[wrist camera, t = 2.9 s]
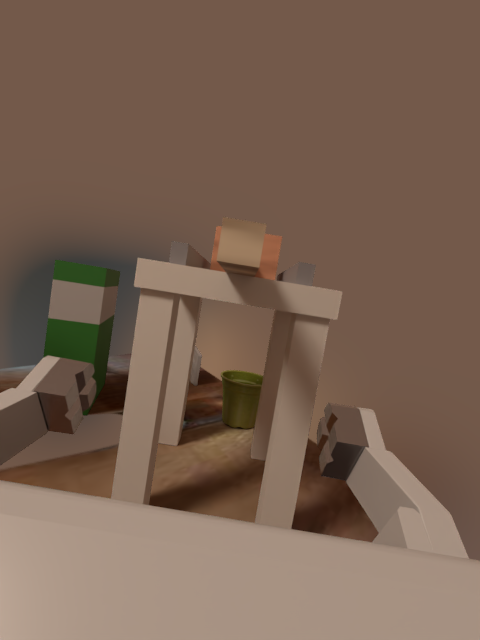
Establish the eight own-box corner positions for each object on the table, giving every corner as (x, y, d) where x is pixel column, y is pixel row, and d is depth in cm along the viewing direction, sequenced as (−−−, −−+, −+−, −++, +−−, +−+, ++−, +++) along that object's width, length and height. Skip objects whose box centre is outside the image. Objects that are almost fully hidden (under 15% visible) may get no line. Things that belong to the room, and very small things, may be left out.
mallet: (306, 275, 20) (324, 169, 19) (169, 252, 20) (185, 146, 19) (269, 287, 49) (276, 245, 48) (214, 278, 49) (220, 235, 48)
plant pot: (273, 426, 64) (281, 381, 63) (243, 438, 57) (252, 387, 56) (234, 410, 70) (241, 368, 69) (202, 418, 62) (210, 372, 61)
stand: (292, 560, 31) (346, 268, 30) (99, 528, 32) (141, 234, 30) (272, 451, 53) (303, 280, 51) (159, 432, 53) (185, 260, 52)
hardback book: (66, 380, 71) (81, 265, 69) (104, 383, 73) (120, 271, 71) (36, 411, 54) (55, 259, 52) (87, 415, 55) (106, 268, 54)
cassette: (199, 386, 83) (204, 355, 82) (191, 385, 82) (196, 354, 82) (193, 373, 94) (197, 346, 94) (186, 372, 94) (190, 345, 93)
